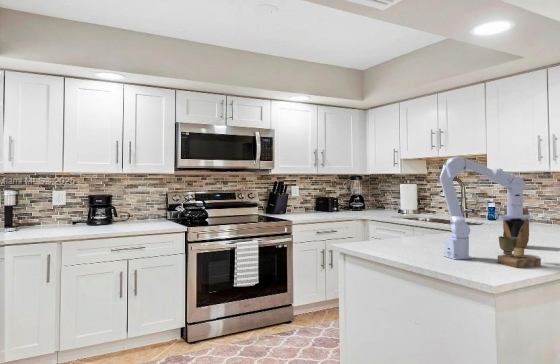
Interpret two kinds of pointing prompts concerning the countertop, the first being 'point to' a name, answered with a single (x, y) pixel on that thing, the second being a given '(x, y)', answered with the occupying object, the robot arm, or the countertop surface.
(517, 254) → the peg
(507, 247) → the cup
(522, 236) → the block
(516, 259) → the board
